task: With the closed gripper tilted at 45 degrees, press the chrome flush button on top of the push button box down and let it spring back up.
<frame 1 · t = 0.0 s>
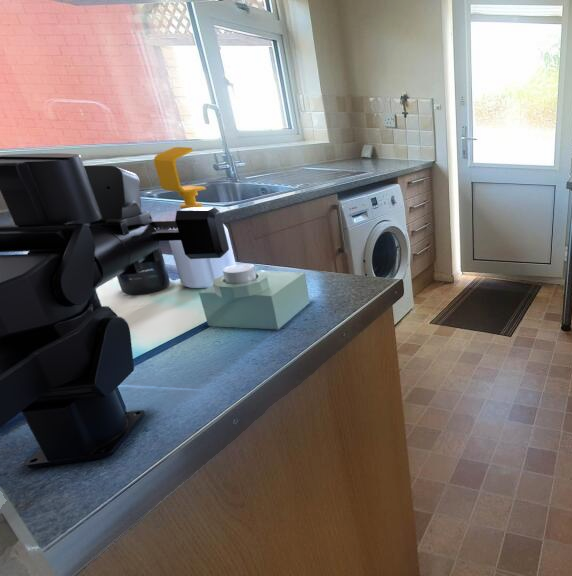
hand: (167, 219, 57), 17 cm above the counter, tool horizontal, fingers open, 9 cm apart
flush button: (240, 274, 62), point 8 cm above the counter, slide at 0.1 cm
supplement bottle: (148, 290, 75), on the counter
soap bottle: (211, 281, 80), on the counter
push button box: (262, 313, 68), on the counter
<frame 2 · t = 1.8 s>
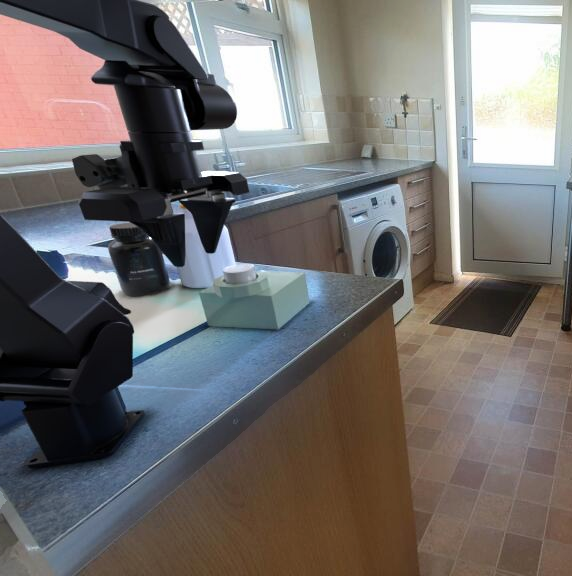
hand: (195, 259, 53), 13 cm above the counter, tool pointing down, fingers open, 5 cm apart
nothing on the counter moved.
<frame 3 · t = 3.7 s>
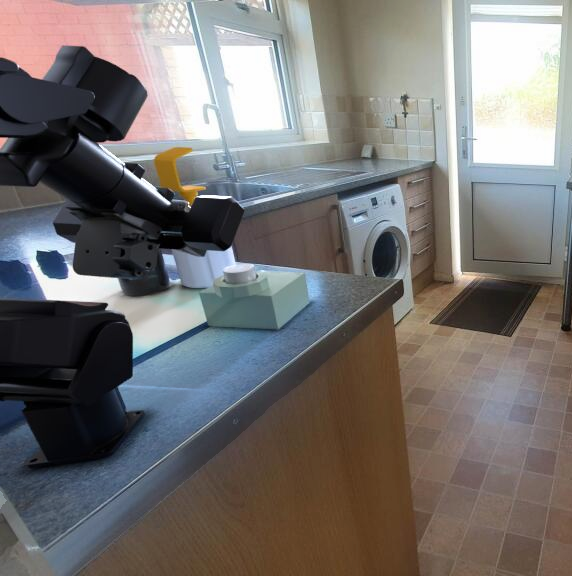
hand: (202, 253, 54), 13 cm above the counter, tool tilted 45°, fingers closed
nothing on the counter moved.
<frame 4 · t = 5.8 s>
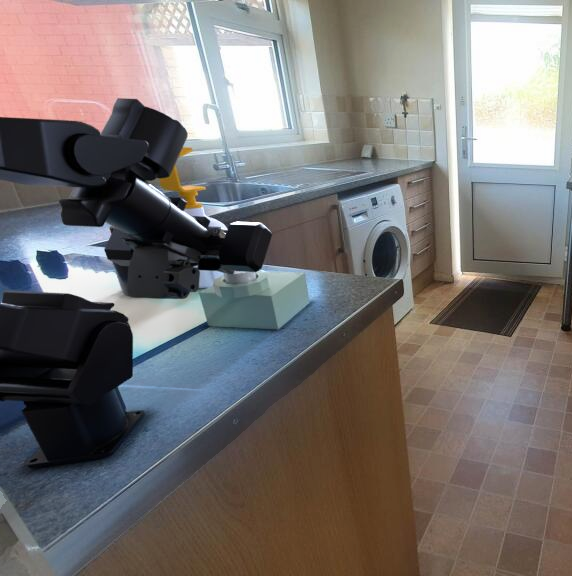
hand: (232, 270, 60), 9 cm above the counter, tool tilted 45°, fingers closed, pressing on flush button
flush button: (240, 275, 62), point 8 cm above the counter, slide at -0.1 cm, touching gripper
everything else where it was.
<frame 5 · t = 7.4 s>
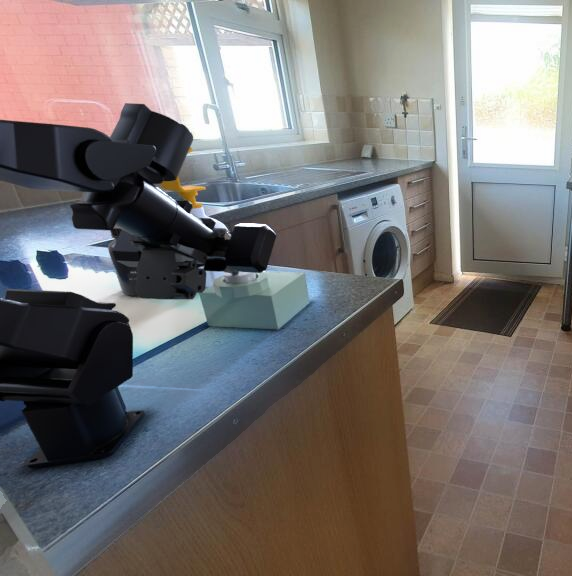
hand: (236, 271, 61), 9 cm above the counter, tool tilted 45°, fingers closed, pressing on flush button
flush button: (240, 278, 62), point 8 cm above the counter, slide at -0.5 cm, touching gripper
everything else where it was.
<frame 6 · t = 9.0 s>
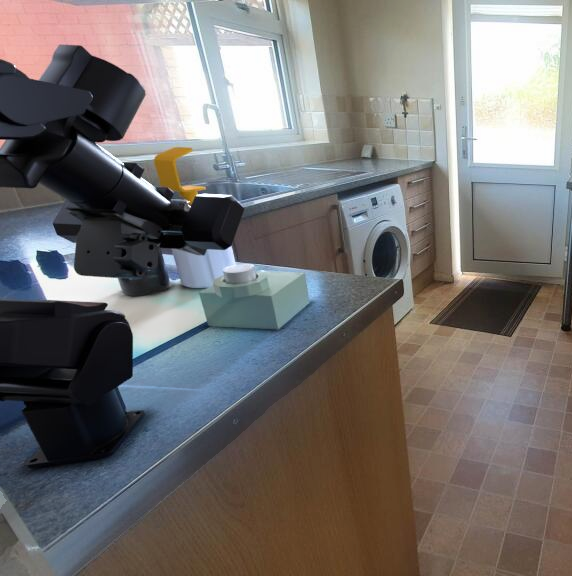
hand: (203, 252, 54), 13 cm above the counter, tool tilted 45°, fingers closed
flush button: (240, 274, 62), point 8 cm above the counter, slide at 0.1 cm
everything else where it was.
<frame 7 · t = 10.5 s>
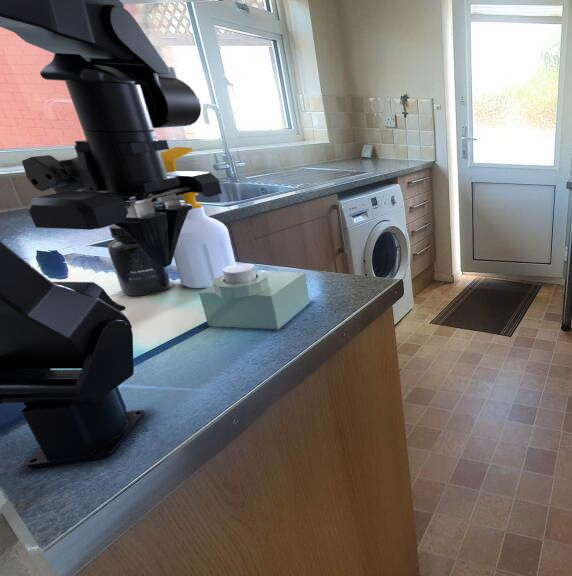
hand: (164, 266, 50), 13 cm above the counter, tool pointing down, fingers closed
nothing on the counter moved.
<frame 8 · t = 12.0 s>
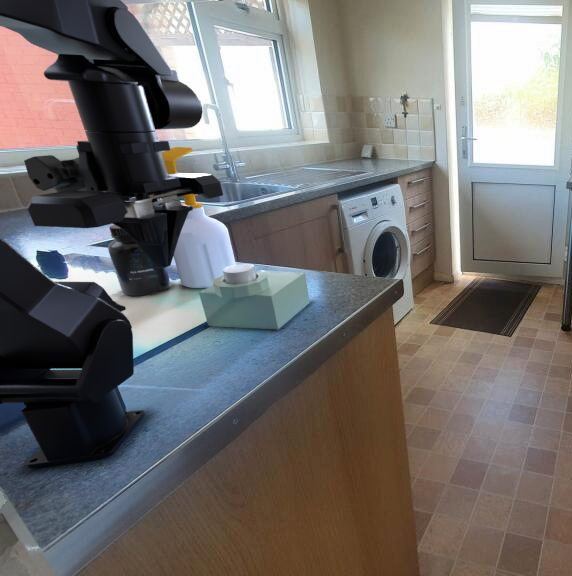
hand: (163, 266, 50), 13 cm above the counter, tool pointing down, fingers closed
nothing on the counter moved.
at the end: flush button pushed in 1.3 cm at the most during the clip, back to where it started at the end; flush button slide at 0.1 cm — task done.
